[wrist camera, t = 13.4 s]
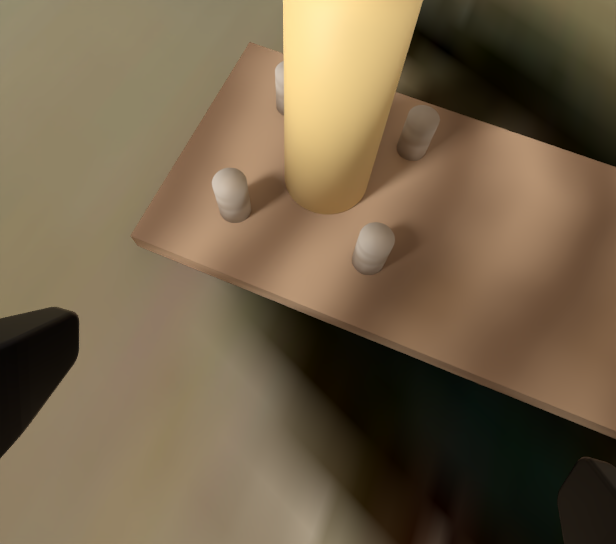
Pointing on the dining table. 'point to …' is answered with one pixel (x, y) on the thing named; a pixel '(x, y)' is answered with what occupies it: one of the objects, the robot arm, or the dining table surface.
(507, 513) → the dining table surface
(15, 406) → the robot arm
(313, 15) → the post
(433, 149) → the board
